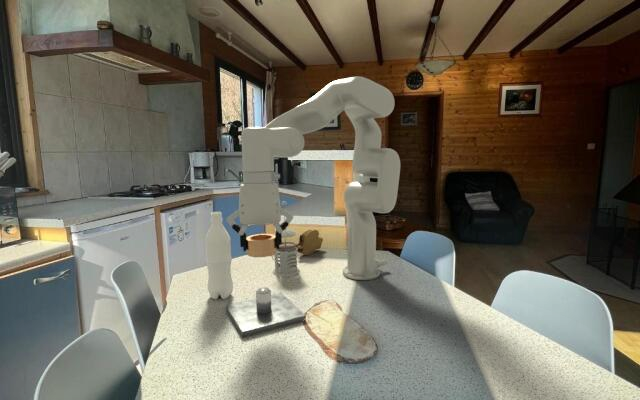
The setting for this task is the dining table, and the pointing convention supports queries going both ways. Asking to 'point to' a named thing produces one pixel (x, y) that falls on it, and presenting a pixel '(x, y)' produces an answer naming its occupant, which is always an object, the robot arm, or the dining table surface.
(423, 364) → the dining table surface
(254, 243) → the copper ring
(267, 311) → the block
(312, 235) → the wooden carving
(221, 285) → the water bottle
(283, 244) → the french press
